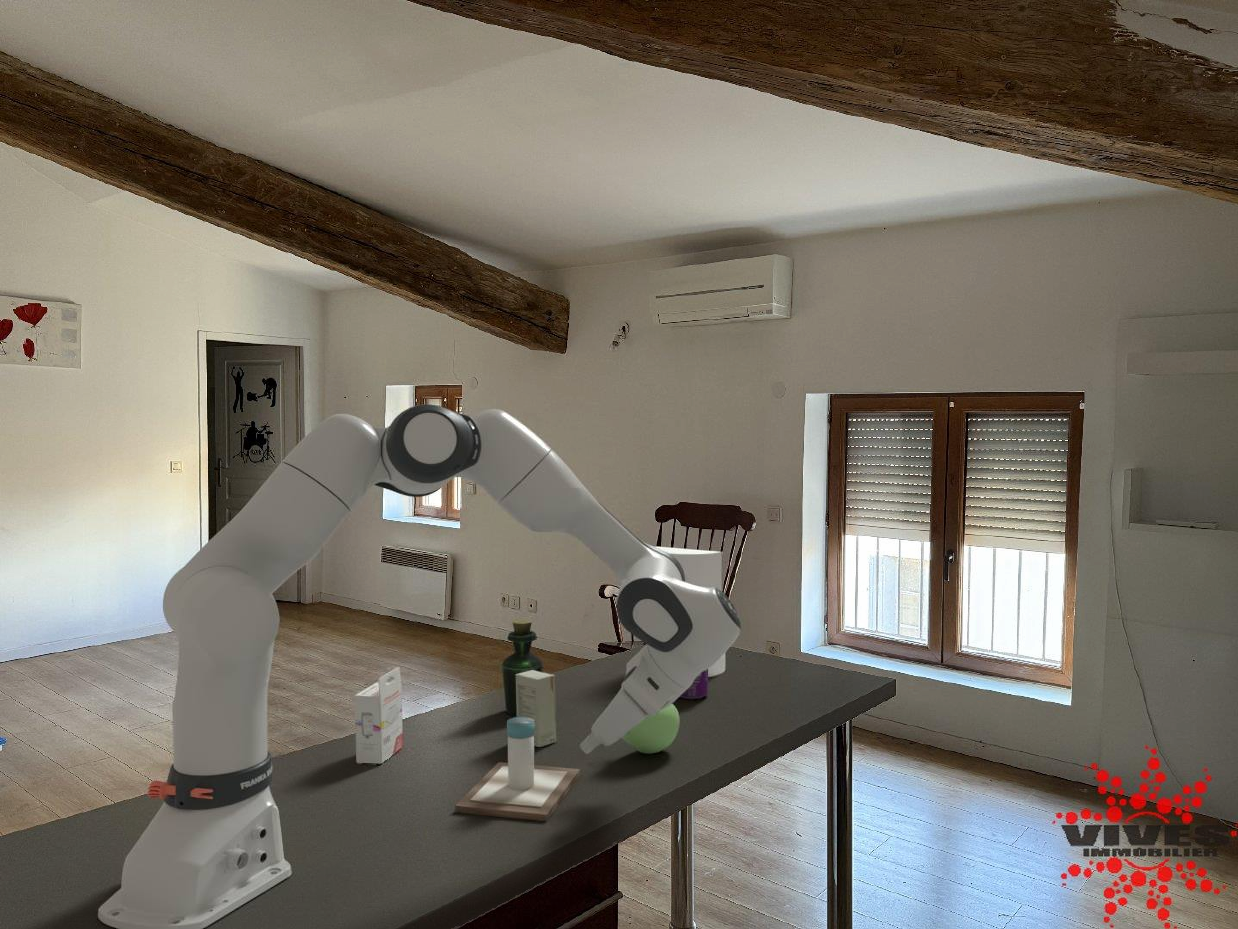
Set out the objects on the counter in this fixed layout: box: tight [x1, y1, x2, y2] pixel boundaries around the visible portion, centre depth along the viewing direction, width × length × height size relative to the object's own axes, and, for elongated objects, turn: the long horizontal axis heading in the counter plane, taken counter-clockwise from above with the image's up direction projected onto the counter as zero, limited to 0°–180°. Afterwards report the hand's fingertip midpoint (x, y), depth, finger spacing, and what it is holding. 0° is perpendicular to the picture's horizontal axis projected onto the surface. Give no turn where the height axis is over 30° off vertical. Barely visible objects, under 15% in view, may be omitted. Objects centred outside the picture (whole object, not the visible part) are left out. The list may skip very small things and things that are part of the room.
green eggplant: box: [621, 703, 680, 754], centre depth 160 cm, size 12×11×11 cm
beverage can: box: [679, 669, 709, 700], centre depth 195 cm, size 7×7×12 cm
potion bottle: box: [501, 619, 544, 717], centre depth 184 cm, size 8×8×18 cm
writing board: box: [454, 761, 581, 822], centre depth 143 cm, size 18×14×1 cm
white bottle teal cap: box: [506, 716, 535, 790], centre depth 143 cm, size 4×4×10 cm
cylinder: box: [655, 546, 726, 678], centre depth 217 cm, size 17×17×28 cm
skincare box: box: [516, 670, 557, 748], centre depth 167 cm, size 6×4×12 cm
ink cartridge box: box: [353, 666, 404, 764], centre depth 159 cm, size 9×5×15 cm, turn 168°
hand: (592, 738), depth 141 cm, fingers open, 8 cm apart
